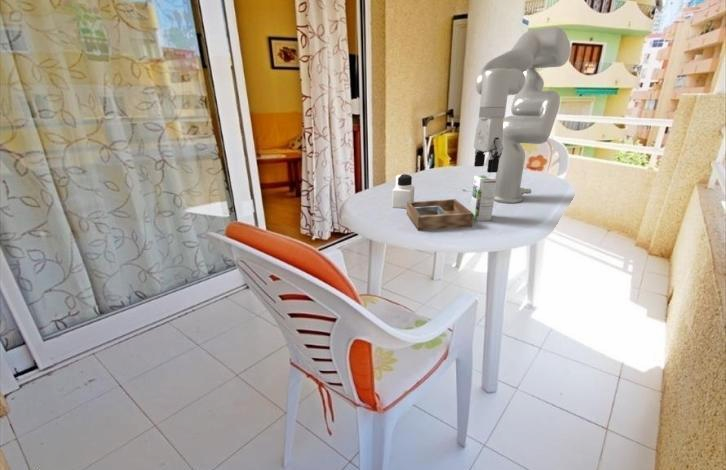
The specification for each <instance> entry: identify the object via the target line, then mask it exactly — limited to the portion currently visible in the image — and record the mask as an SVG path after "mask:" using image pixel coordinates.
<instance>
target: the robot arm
mask: <svg viewBox="0 0 726 470" xmlns="http://www.w3.org/2000/svg"><path fill="white" fill-rule="evenodd" d="M570 55H571V43H570V41H569V37H568V36H567V34H566V31H565V30H564V29H563V28H561V27H559V26H555V27H554V26H553V27H546V28H536V29H531V30H528V31H526V32H524V33H523V34H522V35H521V36H520V37H519V39H518V40H517V41H516V43H515V44H514V46H513V47H512V48H511V49H510V50H509V51H505V52H503V54H500V55H498V56H496V57H494V58H492V59H491V60H489V61H488V62H487V63H486V64H485V65H484V66H483V67H482V69H481V70H480V71H479V73H478V75H477V78H476V81H475V90H476V92H477V93H478V94H479V95H480V102H479V103H480V104H479V110H478V121H477V124H476V130H475V136H474V143H473V148H474V149H475V152H474V154H475V155H474V163H473V164H474V165H473V166H474V167H475V168H477V167H484V165H485V159H486V153H488V156H489V159H488V160H487V161H488V162H487V170H486V172H487V173H488V174H489V173H490V174H491V173H495V177H494V178H495V179H497V181H496V189H495V196H494V202H499V203H505V204H515V203H520V202H522V201H523V199H524V196H523V195H524V194H532V189H531V188H525V187H521V186H522V185H521V184H522V180H523V173H524V172H523V171H524V166H525V159H526V153H525V150H524V148H523V146H522V144H531V145H540V144H541V145H542V144H545V143H546V142H547V141H548V139H549V137H550V136H551V133H552V130H553V126H554V124H555V121H556V119H557V115H558V112H559V108H560V104H561V99H560V94H559V93H558V91H555V90H544V85H545V81H544V79H543V77H542V76H541V74H540V72H538V71H537V69H543V68H544V69H546V68H559V67H562V66H565V64H566V63H567V62H568V61H569V59H570ZM509 96H514V98H513V101H512V103H511V104H512V105H511V108H510V110H511V114H512V115H509V116H506V112H507V111H506V109H507V101H508V97H509Z"/></svg>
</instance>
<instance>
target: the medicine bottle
mask: <svg viewBox="0 0 726 470" xmlns="http://www.w3.org/2000/svg"><path fill="white" fill-rule="evenodd" d="M412 180H413V177H412V176H411V175H410V174H404V173H402V174H398V175H396V176H395V187H394V188H393V189H392V190H391V191H392V200H391V201H392V203H391V204H392V205H391V206H392V208H394V209H395V208H396V209H407V202H415V186H414V185H413V184H412V182H413V181H412Z"/></svg>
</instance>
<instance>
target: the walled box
mask: <svg viewBox="0 0 726 470" xmlns="http://www.w3.org/2000/svg"><path fill="white" fill-rule="evenodd" d="M406 216H407V217H408V218H409V220H410V221H411V223H412V224H413V225H414V227H415V228H416V230H417V231H418V232H420V231H429V230H430V231H431V230H444V229H446V230H447V229H457V228H459V229H460V228H470V227H471V228H472V227H473V221H474V219H473V213H472V212H470V209H468V208H467V207H466V206H464V204H462V203H461V202H460V201H459V200H457V199H455V198H451V199H439V200H438V199H435V200H423V201H422V200H421V201H414V202H407V208H406Z"/></svg>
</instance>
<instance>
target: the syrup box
mask: <svg viewBox="0 0 726 470" xmlns="http://www.w3.org/2000/svg"><path fill="white" fill-rule="evenodd" d="M495 178H496V177H493V176H491V175H488V174H480V175H474V177H473V185H472V191H471V192H472V193H471V200H470V209H469V211H470V212H472V213H473V221H475V222H482V221H483V222H484V221H486V222H487V221H491V220H492V217H493V215H492V214H493V208H494V202H495V201H494V196H495V189H496V181H497V179H495Z"/></svg>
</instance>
